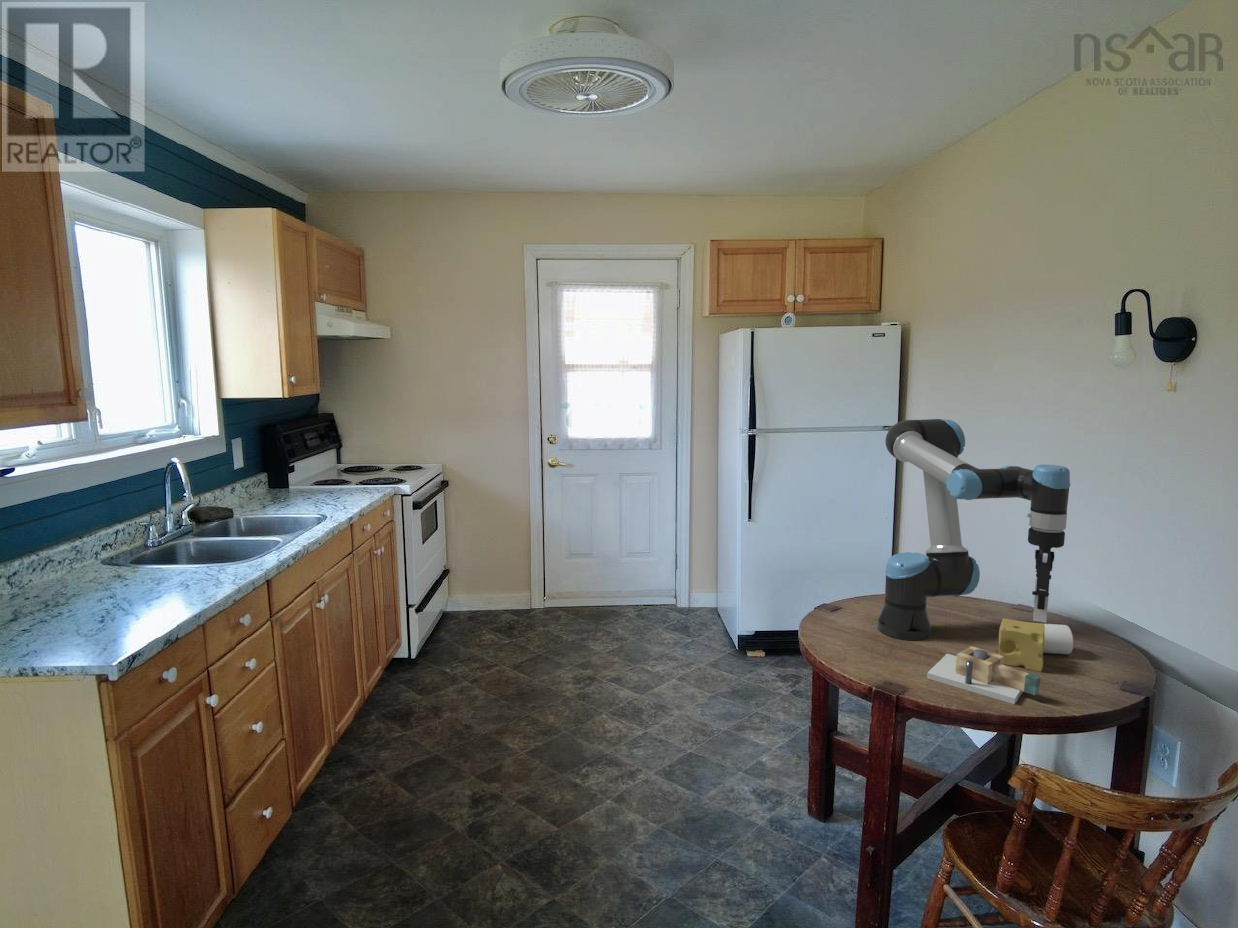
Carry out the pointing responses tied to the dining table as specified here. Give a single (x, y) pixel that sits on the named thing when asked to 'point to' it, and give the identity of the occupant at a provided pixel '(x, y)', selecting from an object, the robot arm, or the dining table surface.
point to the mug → (1057, 639)
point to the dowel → (969, 672)
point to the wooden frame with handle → (996, 671)
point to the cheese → (1022, 644)
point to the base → (947, 675)
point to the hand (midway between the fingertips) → (1039, 612)
